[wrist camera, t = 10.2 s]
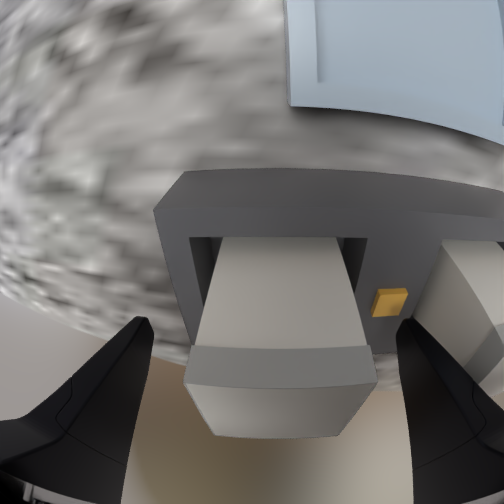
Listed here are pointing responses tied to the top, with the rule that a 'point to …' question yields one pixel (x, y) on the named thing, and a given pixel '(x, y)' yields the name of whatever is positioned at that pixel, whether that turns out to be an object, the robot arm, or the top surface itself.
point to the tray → (400, 59)
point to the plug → (280, 342)
